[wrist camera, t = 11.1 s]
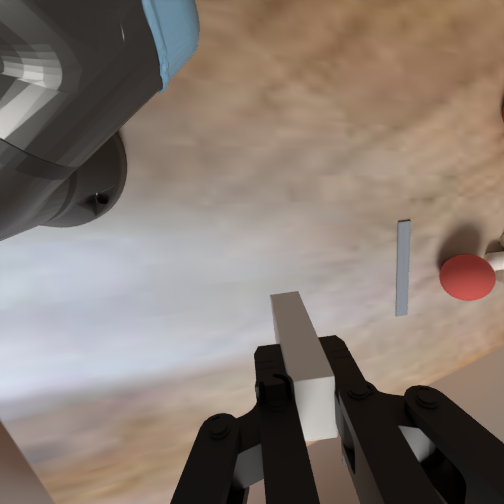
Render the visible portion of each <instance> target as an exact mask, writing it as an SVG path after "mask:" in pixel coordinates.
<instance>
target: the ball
mask: <svg viewBox="0 0 504 504" xmlns="http://www.w3.org/2000/svg"><path fill="white" fill-rule="evenodd" d="M439 277H440V283H441V285H442V287H443V288H444V290H445V291H446V292H447V293H448V294H449V295H451V296H452V297H455V298H457V299H460V300H466V301H472V300H477V299H480V298H483V297H485V296H486V295H487V294H489V293H490V292H491V290H492V289H493V287H494V285H495V279H496V278H495V272H494V270H493V268H492V266H491V265H490V264H489V263H488V262H487V261H486V260H484V259H482V258H481V257H478V256H475V255H470V254H463V255H458V256H455V257H452V258H450V259H449V260H448V261H446V262H445V263H444V265H443V266H442V268H441V270H440V276H439Z"/></svg>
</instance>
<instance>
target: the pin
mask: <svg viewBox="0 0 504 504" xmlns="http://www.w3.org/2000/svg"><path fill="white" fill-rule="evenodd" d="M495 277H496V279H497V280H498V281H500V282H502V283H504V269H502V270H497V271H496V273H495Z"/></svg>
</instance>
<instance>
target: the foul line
mask: <svg viewBox="0 0 504 504" xmlns="http://www.w3.org/2000/svg"><path fill="white" fill-rule="evenodd" d="M410 230H411V221H404V222H398V241H397V282H396V316H404V315H407V309H408V282H409V256H410Z"/></svg>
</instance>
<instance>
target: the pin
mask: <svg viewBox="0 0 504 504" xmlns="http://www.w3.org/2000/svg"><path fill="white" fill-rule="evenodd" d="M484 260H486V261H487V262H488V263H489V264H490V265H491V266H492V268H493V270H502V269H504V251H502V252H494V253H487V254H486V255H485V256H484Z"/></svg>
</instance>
